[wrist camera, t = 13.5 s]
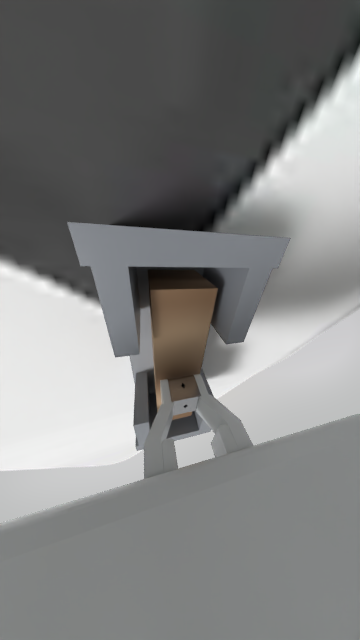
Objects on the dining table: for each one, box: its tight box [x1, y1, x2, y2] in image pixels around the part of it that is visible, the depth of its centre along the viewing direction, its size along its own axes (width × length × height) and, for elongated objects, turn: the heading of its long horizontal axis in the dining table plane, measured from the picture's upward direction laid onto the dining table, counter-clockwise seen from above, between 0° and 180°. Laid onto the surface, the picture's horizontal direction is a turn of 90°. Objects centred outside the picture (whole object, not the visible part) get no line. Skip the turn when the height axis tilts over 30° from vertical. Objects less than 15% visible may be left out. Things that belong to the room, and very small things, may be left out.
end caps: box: [67, 222, 290, 451], centre depth 12 cm, size 19×8×6 cm, turn 176°
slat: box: [148, 270, 218, 420], centre depth 12 cm, size 14×4×4 cm, turn 177°
